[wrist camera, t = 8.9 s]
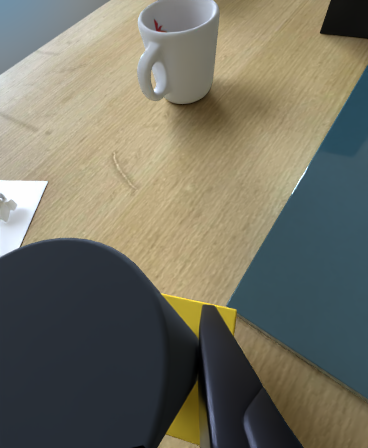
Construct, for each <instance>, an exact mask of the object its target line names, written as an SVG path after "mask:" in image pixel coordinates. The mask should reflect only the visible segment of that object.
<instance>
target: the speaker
mask: <svg viewBox="0 0 368 448" xmlns="http://www.w3.org/2000/svg"><path fill="white" fill-rule="evenodd" d="M320 33H323V34H333V35H343V36H353V37H363V38H368V0H331V1H330V4H329V7H328V10H327V13H326V16H325V19H324V22H323V25H322V28H321V31H320Z"/></svg>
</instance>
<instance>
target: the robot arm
mask: <svg viewBox="0 0 368 448" xmlns="http://www.w3.org/2000/svg"><path fill="white" fill-rule="evenodd" d="M198 402H199V431H200V448H304V447H303V446H302V444H301V443H300V442H299V440H298V439H297V437H296V436H295V435H294V433H293V432H292V430H291V429H290V428H289V426H288V425H287V423H286V422H285V420H284V419H283V417H282V415H281V414H280V412H279V411H278V409H277V408H276V406H275V404H274V403H273V401H272V400H271V398H270V396H269V395H268V393H267V391H266V389H265V388H263V385H262V383H261V381H260V380H259V378H258V376H257V375H256V373H255V371H254V370H253V368H252V366H251V365H250V363H249V361H248V360H247V358H246V356H245V355H244V353H243V351H242V350H241V348H240V346H239V345H238V343H237V341H236V340H235V338H234V336H233V335H232V333H231V331H230V330H229V328H228V326H227V325H226V323H225V321H224V320H223V318H222V316H221V315H220V313H219V311H218V310H217V308H216V306H215V305H207V304H204V305H202V310H201V317H200V323H199V350H198Z"/></svg>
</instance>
